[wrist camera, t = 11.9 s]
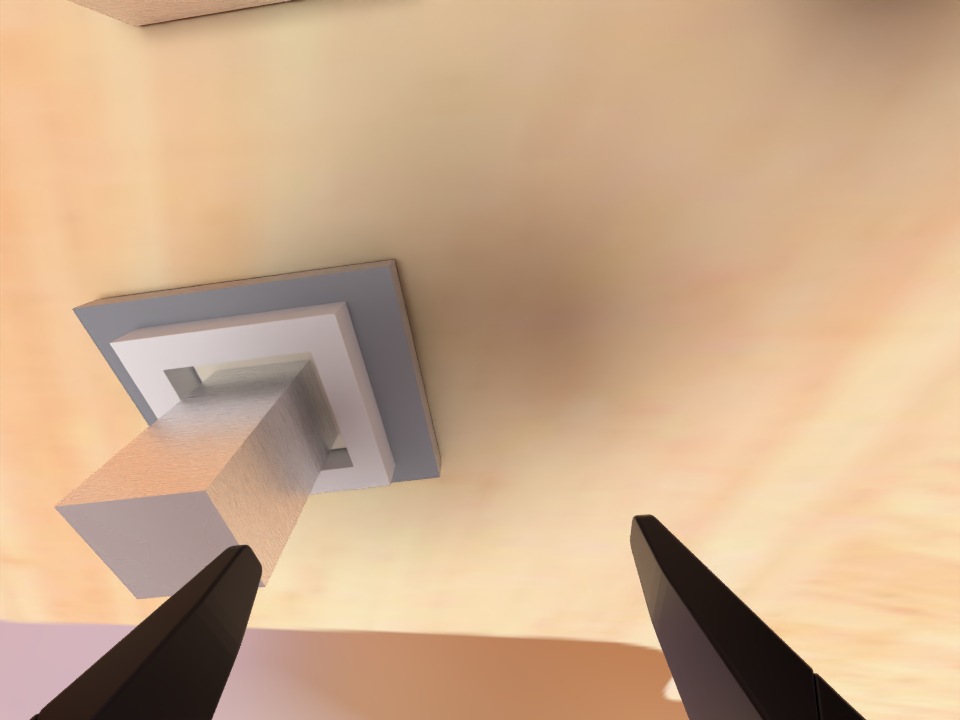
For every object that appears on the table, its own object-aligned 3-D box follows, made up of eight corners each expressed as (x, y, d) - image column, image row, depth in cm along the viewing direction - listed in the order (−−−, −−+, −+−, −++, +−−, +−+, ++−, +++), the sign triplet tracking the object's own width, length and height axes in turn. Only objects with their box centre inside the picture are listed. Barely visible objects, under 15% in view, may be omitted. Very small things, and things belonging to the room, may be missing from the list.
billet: (309, 359, 18) (205, 490, 11) (337, 435, 20) (265, 586, 13) (216, 370, 18) (53, 506, 11) (254, 444, 20) (137, 599, 13)
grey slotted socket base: (394, 259, 17) (382, 275, 15) (441, 462, 23) (437, 497, 20) (95, 299, 18) (37, 322, 15) (212, 488, 23) (183, 525, 21)
